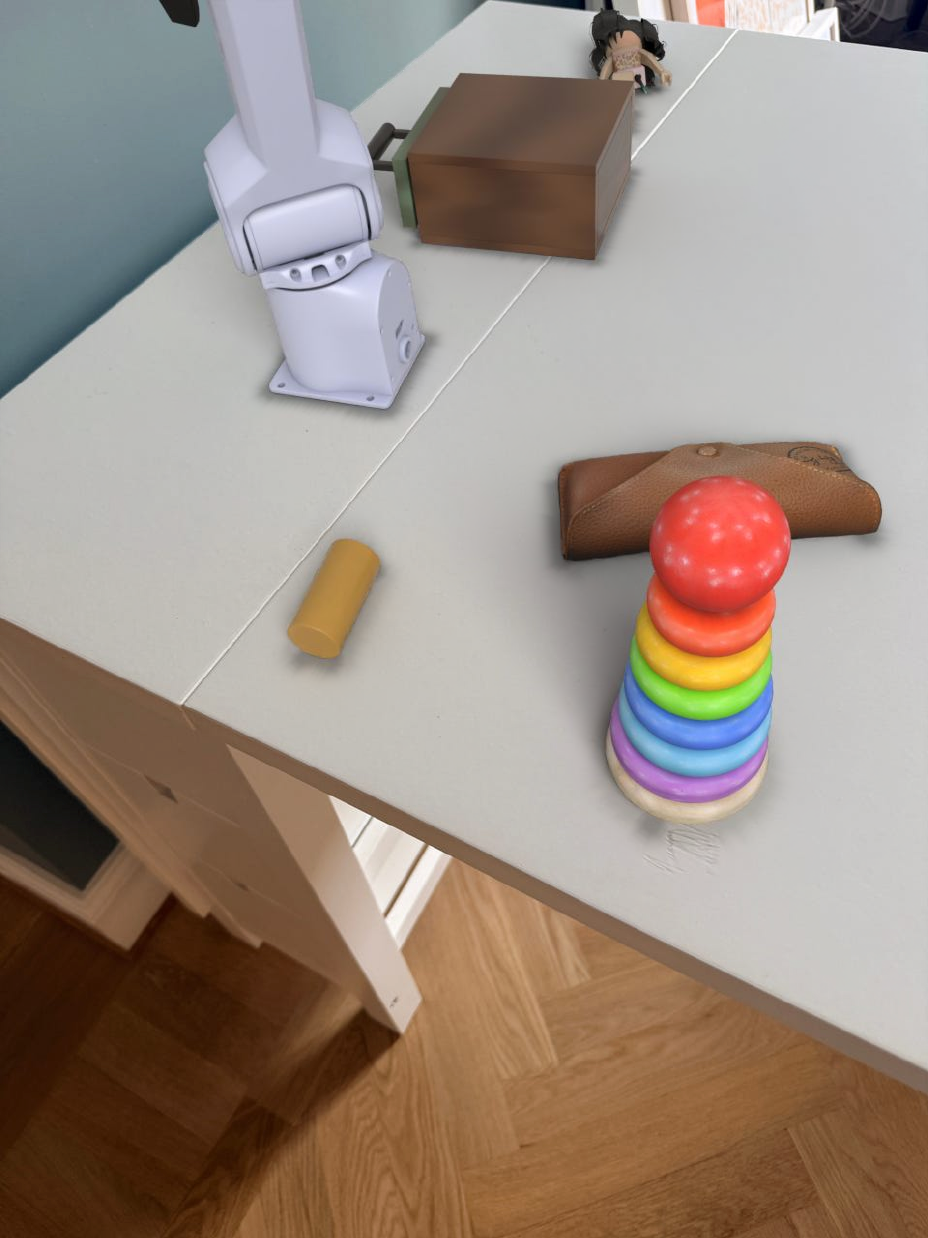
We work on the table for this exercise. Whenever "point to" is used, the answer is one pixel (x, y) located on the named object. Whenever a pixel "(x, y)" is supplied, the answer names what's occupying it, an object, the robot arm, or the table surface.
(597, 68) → the toy figure
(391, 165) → the drawer
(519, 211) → the cabinet
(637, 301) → the table surface
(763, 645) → the stacking toy
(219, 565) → the table surface
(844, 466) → the sunglasses case
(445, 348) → the table surface
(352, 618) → the yellow cylinder
